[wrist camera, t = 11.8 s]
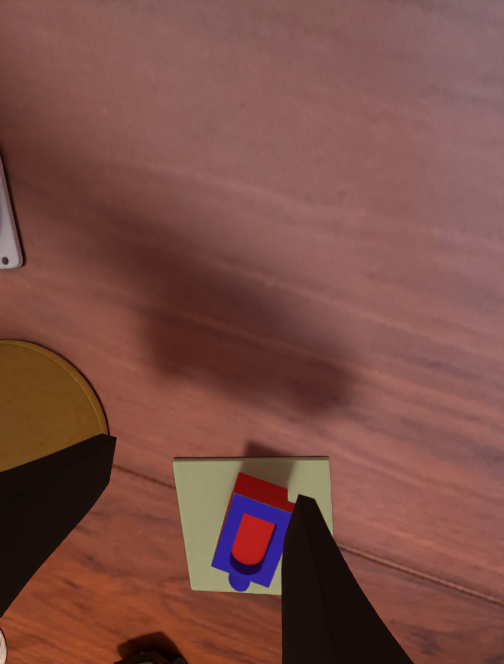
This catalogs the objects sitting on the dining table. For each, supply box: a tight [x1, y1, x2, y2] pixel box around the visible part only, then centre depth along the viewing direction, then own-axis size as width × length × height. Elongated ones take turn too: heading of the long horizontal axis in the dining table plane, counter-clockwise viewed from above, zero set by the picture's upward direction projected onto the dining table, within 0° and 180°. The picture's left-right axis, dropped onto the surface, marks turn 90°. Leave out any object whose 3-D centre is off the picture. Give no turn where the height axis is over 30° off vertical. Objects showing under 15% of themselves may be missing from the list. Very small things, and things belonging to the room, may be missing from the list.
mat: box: [172, 457, 333, 595], centre depth 22 cm, size 11×11×1 cm
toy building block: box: [211, 472, 295, 592], centre depth 19 cm, size 4×4×8 cm
